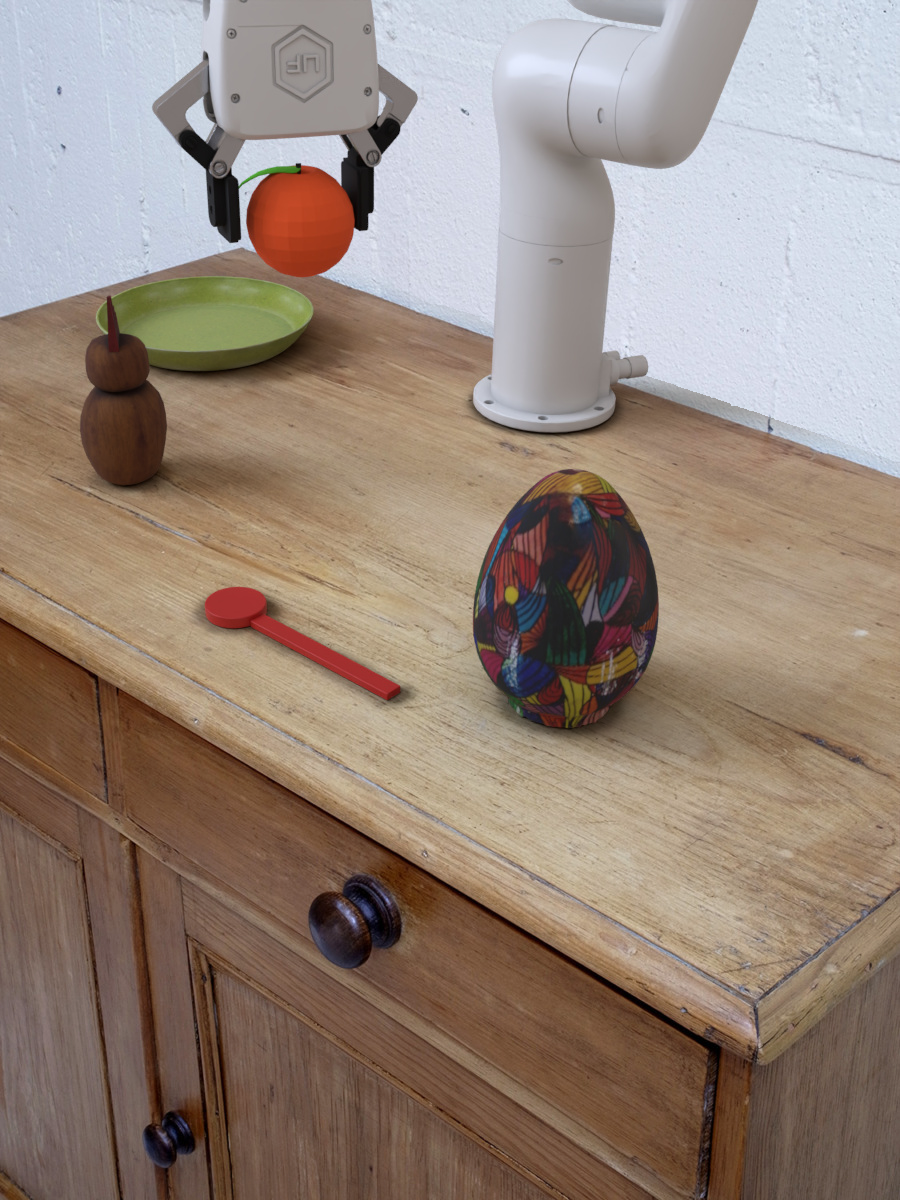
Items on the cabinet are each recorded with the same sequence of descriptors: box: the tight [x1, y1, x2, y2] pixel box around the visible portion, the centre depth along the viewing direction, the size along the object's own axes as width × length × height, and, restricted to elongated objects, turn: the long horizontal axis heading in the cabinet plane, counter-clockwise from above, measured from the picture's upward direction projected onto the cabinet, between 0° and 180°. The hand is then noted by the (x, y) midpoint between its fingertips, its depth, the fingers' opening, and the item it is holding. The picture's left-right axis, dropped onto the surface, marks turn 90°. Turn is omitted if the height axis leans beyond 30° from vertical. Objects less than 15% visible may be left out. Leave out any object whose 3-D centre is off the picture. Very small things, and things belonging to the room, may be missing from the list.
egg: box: [472, 468, 660, 729], centre depth 75 cm, size 11×11×15 cm
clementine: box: [239, 162, 355, 278], centre depth 84 cm, size 8×7×7 cm
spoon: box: [204, 586, 401, 701], centre depth 83 cm, size 16×4×1 cm, turn 50°
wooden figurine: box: [79, 295, 168, 486], centre depth 99 cm, size 7×6×15 cm
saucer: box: [95, 275, 315, 372], centre depth 127 cm, size 21×21×3 cm
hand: (293, 229), depth 84 cm, fingers closed on clementine, 8 cm apart
